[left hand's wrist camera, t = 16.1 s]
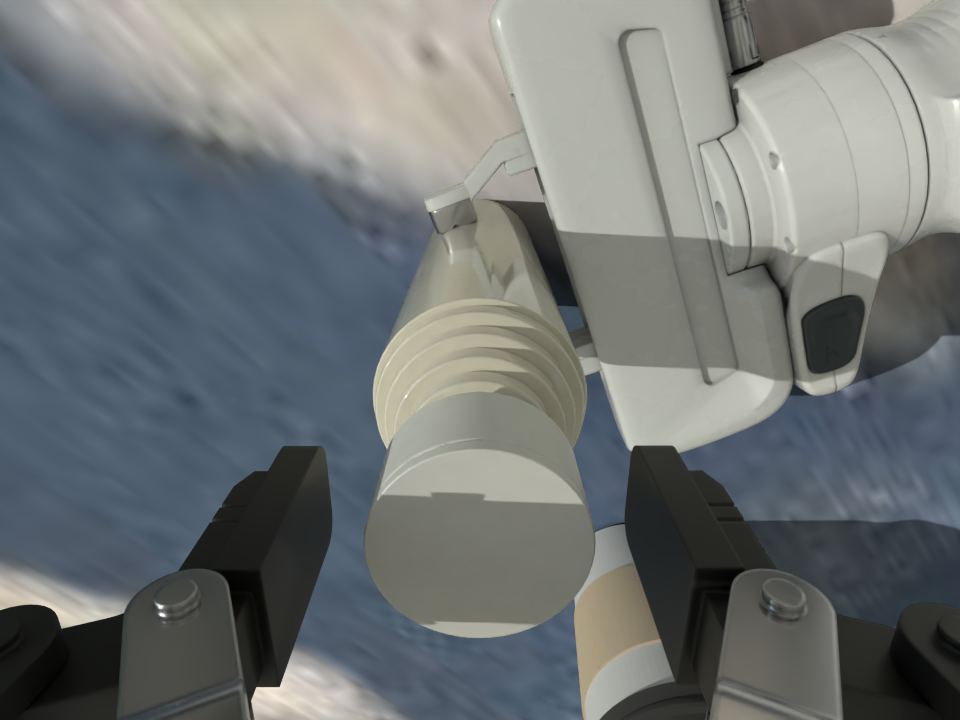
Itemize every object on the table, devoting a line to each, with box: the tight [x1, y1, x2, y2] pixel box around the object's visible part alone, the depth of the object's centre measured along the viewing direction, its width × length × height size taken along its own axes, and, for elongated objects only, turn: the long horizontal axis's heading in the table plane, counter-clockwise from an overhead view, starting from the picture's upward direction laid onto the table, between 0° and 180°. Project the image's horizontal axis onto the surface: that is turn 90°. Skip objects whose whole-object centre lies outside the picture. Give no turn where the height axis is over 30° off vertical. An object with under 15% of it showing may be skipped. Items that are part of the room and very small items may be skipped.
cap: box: [364, 391, 596, 638], centre depth 11 cm, size 4×4×2 cm
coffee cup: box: [574, 524, 708, 720], centre depth 33 cm, size 9×9×15 cm
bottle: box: [373, 199, 587, 449], centre depth 22 cm, size 6×6×24 cm
